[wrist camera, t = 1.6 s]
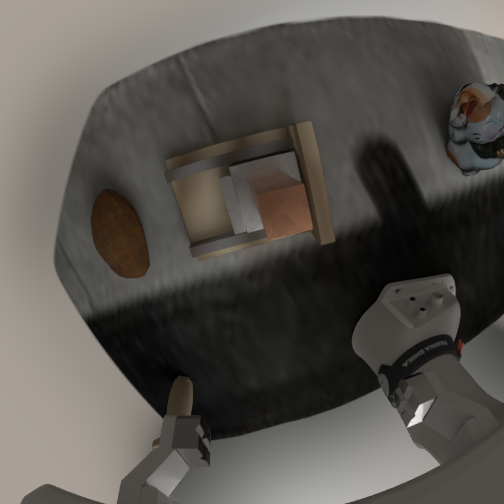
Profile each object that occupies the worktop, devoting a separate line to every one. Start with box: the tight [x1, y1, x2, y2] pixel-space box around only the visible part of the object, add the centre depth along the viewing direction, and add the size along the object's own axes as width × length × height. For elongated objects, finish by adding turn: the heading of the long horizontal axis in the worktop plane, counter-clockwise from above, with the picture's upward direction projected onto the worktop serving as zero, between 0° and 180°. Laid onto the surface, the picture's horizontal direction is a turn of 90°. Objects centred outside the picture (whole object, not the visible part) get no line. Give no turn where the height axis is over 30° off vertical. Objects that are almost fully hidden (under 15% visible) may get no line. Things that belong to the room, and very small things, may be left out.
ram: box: [219, 151, 313, 241], centre depth 26 cm, size 8×7×12 cm
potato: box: [91, 189, 150, 278], centre depth 30 cm, size 7×12×7 cm, turn 22°
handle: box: [152, 376, 193, 449], centre depth 37 cm, size 5×6×15 cm
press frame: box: [165, 121, 335, 261], centre depth 30 cm, size 16×13×6 cm
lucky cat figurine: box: [447, 82, 504, 176], centre depth 24 cm, size 15×12×14 cm
